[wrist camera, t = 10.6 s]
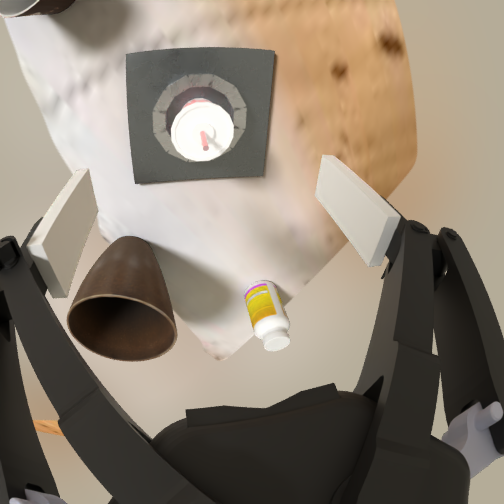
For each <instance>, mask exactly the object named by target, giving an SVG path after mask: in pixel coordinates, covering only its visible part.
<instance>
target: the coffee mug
mask: <svg viewBox="0 0 504 504" xmlns="http://www.w3.org/2000/svg"><path fill="white" fill-rule="evenodd" d="M74 2H75V0H0V16H1V17H4V18H12V17H20V16H30V15H45V14H56V13H59V12H62V11H64V10H65V9H67V8H68V7H69V6H71V5H72V4H73V3H74Z"/></svg>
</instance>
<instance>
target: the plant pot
mask: <svg viewBox="0 0 504 504" xmlns="http://www.w3.org/2000/svg"><path fill="white" fill-rule="evenodd" d="M67 325H68V329H69V331H70V333H71V334H72V336H73V337H74V338H75V339H76V340H77V341H78V342H79V343H80V344H81V345H82V346H84V347H85V348H86V349H88V350H90V351H92V352H93V353H96V354H98V355H101V356H103V357H106V358H110V359H114V360H120V361H132V362H133V361H145V360H150V359H154V358H157V357H160V356H162V355H163V354H165V353H167V352H168V351H169V350H170V349H171V348H172V347H173V346H174V344H175V342H176V340H177V329H176V324H175V320H174V315H173V310H172V306H171V302H170V298H169V294H168V291H167V287H166V284H165V281H164V278H163V275H162V272H161V269H160V267H159V264H158V262H157V260H156V257H155V255H154V253H153V251H152V249H151V247H150V246H149V245H148V244H147V243H146V242H145V241H144V240H142V239H140V238H138V237H134V236H125V237H121V238H119V239H117V240H116V241H114V242H113V243H112V244H111V245H110V246H109V247H108V248H107V249H106V250H105V251H104V253H103V254H102V255H101V256H100V257H99V258H98V260H97V261H96V262H95V264H94V265H93V266H92V268H91V269H90V271H89V272H88V274H87V276H86V277H85V279H84V280H83V282H82V284H81V286H80V288H79V290H78V292H77V294H76V296H75V298H74V300H73V303H72V305H71V307H70V310H69V312H68V315H67Z"/></svg>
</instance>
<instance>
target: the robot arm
mask: <svg viewBox="0 0 504 504" xmlns="http://www.w3.org/2000/svg"><path fill="white" fill-rule="evenodd" d="M315 197H316V198H317V199H318V200H319V202H320V203H321V204H322V205H323V207H324V208H325V209H326V211H327V212H328V213H329V214H330V216H331V217H332V218H333V220H334V221H335V222H336V224H337V225H338V226H339V228H340V229H341V230H342V232H343V233H344V234H345V236H346V237H347V238H348V240H349V241H350V242H351V244H352V245H353V246H354V248H355V249H356V251H357V252H358V253H359V255H360V256H361V258H362V259H363V260H364V262H365V263H366V265H367V266H368V267H373V266H380V265H381V264H382V261H383V259H384V257H385V255H386V256H387V258H388V259H389V263H388V265H387V267H386V269H385V271H384V273H383V276H382V277H381V279H383V278H384V277H385V278H384V284H383V289H382V294H381V299H380V304H379V308H378V313H377V317H376V321H375V325H374V329H373V334H372V337H371V341H370V345H369V348H368V352H367V355H366V359H365V362H364V366H363V369H362V372H361V375H360V378H359V381H358V384H357V386H356V388H355V389H354V391H353V392H348V391H337V389H336V386H335V384H334V383H331V384H327V385H324V386H320V387H316V388H312V389H308V390H305V391H301V392H299V393H297V394H295V395H293V396H291V397H289V398H287V399H285V400H283V401H281V402H279V403H277V404H275V405H273V406H270V407H268V408H247V407H234V406H216V407H208V408H198V409H187V410H186V418H184V419H182V420H179V421H177V422H175V423H172V424H171V425H169V426H168V427H166V428H164V429H163V430H162V431H161V432H159V433H158V434H157V435H156V436H155V437H154V438H153V439H152V438H150V437H149V436H148V435H147V434H146V433H145V432H144V431H143V430H142V429H141V428H140V427H139V426H138V425H137V424H136V423H135V422H134V421H133V420H132V419H131V418H130V416H129V415H128V414H127V413H126V412H125V411H124V410H123V409H122V408H121V406H120V405H119V404H118V403H117V402H116V401H115V399H114V398H113V397H112V396H111V395H110V393H109V392H108V391H107V390H106V388H105V387H104V386H103V385H102V384H101V382H100V381H99V379H98V378H97V377H96V376H95V374H94V373H93V371H92V370H91V369H90V367H89V366H88V365H87V363H86V362H85V360H84V359H83V358H82V356H81V355H80V353H79V352H78V350H77V349H76V347H75V346H74V344H73V343H72V341H71V340H70V338H69V337H68V335H67V333H66V332H65V330H64V329H63V327H62V325H61V323H60V322H59V320H58V318H57V317H56V315H55V313H54V311H53V310H52V308H51V306H50V304H49V302H48V301H47V299H46V297H45V294H46V291H47V289H48V291H49V292H50V294H51V296H52V298H67V297H68V293H69V290H70V287H71V283H72V280H73V277H74V274H75V271H76V268H77V265H78V262H79V259H80V256H81V254H82V251H83V248H84V246H85V243H86V240H87V237H88V235H89V232H90V230H91V228H92V225H93V223H94V220H95V218H96V216H97V213H98V208H97V204H96V199H95V195H94V191H93V186H92V182H91V177H90V172H89V168H87V169H81V170H77V171H76V172H75V173H74V175H73V176H72V177H71V179H70V180H69V181H68V183H67V184H66V185H65V187H64V188H63V189H62V191H61V192H60V194H59V195H58V197H57V198H56V199H55V201H54V202H53V204H52V205H51V207H50V208H49V210H48V211H47V213H46V214H45V216H44V217H42V218H40V219H39V220H38V221H37V222H36V223H35V224H34V226H33V227H32V229H31V232H29V234H28V236H27V238H26V239H25V241H24V242H23V244H22V246H21V248H20V247H19V245H18V243H17V241H16V238H15V237H14V236H7V237H5V238H2V239H1V240H0V504H67V503H66V502H65V501H64V500H63V499H61V498H60V495H59V493H58V490H57V487H56V484H55V481H54V478H53V476H52V473H51V471H50V468H49V465H48V463H47V460H46V458H45V455H44V453H43V450H42V448H41V445H40V442H39V439H38V436H37V433H36V430H35V427H34V424H33V420H32V417H31V414H30V410H29V406H28V403H27V398H26V394H25V390H24V386H23V381H22V376H21V370H20V365H19V359H18V352H17V345H16V336H15V327H16V330H17V332H18V335H19V337H20V340H21V342H22V344H23V347H24V349H25V352H26V354H27V356H28V358H29V360H30V363H31V365H32V367H33V369H34V371H35V373H36V375H37V377H38V379H39V381H40V383H41V385H42V387H43V389H44V390H45V392H46V394H47V396H48V398H49V400H50V401H51V403H52V405H53V406H54V408H55V410H56V411H57V413H58V415H59V418H60V419H59V420H58V425H59V427H60V429H61V431H62V433H63V434H64V436H65V437H66V439H67V440H68V442H69V443H70V444H71V446H72V447H73V448H74V450H75V451H76V453H77V454H78V456H79V457H80V458H81V460H82V461H83V462H84V463H85V465H86V466H87V467H88V469H89V470H90V471H91V472H92V473H93V475H94V476H95V477H96V478H97V479H98V480H99V482H100V483H101V484H102V485H103V486H104V487H105V489H106V490H107V491H108V492H109V493H110V494H111V495H112V496H113V497H112V499H111V500H110V502H109V503H108V504H468V495H469V486H470V479H471V478H473V477H474V476H475V475H477V474H478V473H479V472H480V471H482V470H483V469H484V468H486V467H487V466H488V465H490V464H491V463H492V462H493V461H494V460H496V459H498V458H500V457H502V456H504V338H503V335H502V332H501V329H500V326H499V323H498V320H497V317H496V315H495V312H494V309H493V306H492V304H491V301H490V299H489V296H488V293H487V291H486V289H485V287H484V284H483V282H482V279H481V278H480V275H479V273H478V271H477V268H476V267H475V264H474V262H473V260H472V258H471V256H470V254H469V252H468V250H467V248H466V246H465V244H464V242H463V241H462V239H461V237H460V236H459V235H458V234H457V233H456V231H453V229H449V228H445V227H443V228H441V230H440V232H439V234H438V235H433V234H430V232H429V230H428V229H427V227H425V226H424V225H423V224H421V223H419V222H417V221H414V220H408V221H407V220H406V219H405V218H404V217H403V216H402V215H401V214H400V213H399V212H398V211H397V210H396V209H394V207H393V206H392V205H391V204H389V202H388V201H387V200H386V199H385V198H384V197H382V196H380V195H379V194H377V193H376V192H375V191H374V190H373V189H372V188H371V187H370V186H369V185H368V184H366V183H365V182H364V181H363V180H362V179H361V178H360V177H359V176H357V175H356V174H355V173H354V172H353V171H352V170H351V169H349V168H348V167H347V166H346V165H345V164H343V163H342V162H341V161H340V160H339V159H337V158H336V157H335V156H333V155H322V160H321V165H320V171H319V176H318V181H317V187H316V192H315ZM446 271H447V273H446V275H445V272H446ZM14 324H15V325H14ZM433 328H434V333H435V339H436V345H437V351H438V356H437V355H434V354H432V343H433ZM440 372H441V381H442V389H443V390H442V391H443V401H444V410H445V414H446V420H447V424H448V431H447V432H446V433H444V434H443V436H442V441H441V440H439V439H437V438H436V437H434V436H432V435H431V431H432V426H433V420H434V414H435V409H436V402H437V395H438V387H439V378H440Z"/></svg>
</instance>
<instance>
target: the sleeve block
mask: <svg viewBox="0 0 504 504" xmlns="http://www.w3.org/2000/svg"><path fill="white" fill-rule="evenodd" d="M274 53H275V51H272V50H262V49H249V48H225V47H200V48H177V49H164V50H153V51H145V52H137V53H130V54H126V87H127V109H128V124H129V136H130V146H131V156H132V165H133V173H134V180H135V184H141V183H151V182H161V181H173V180H186V179H201V178H219V177H244V176H263V171H264V161H265V150H266V140H267V129H268V118H269V108H270V97H271V86H272V75H273V64H274ZM195 98H204V99H207V100H209V101H211V102H212V103H213V104H216V105H219V106H221V107H222V108H223V109H224V110H225V111H226V112H227V113H228V114H229V115H230V118H231V120H232V122H233V125H234V133H233V139H232V141H231V143H230V145H229V147H228V148H227V149H226V150H225V151H224V152H223V153H222V154H221V155H220V156H218V157H216V158H213V159H211V160H209V161H194V160H191V159H188V158H185V157H184V156H183V155H181V154H180V153H179V152H178V151H177V150H176V148H175V146H174V145H173V143H172V141H171V127H172V124H173V122H174V119H175V117H176V115H177V114H178V113H179V112H180V111H181V110H182V108H183V106H184V105H185V104H186V103H187V102H188V101H190V100H193V99H195Z"/></svg>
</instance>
